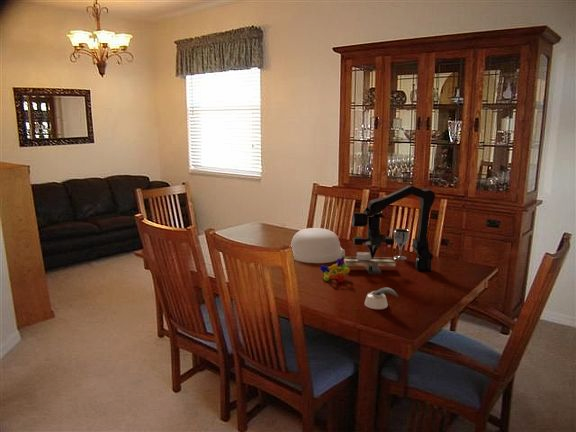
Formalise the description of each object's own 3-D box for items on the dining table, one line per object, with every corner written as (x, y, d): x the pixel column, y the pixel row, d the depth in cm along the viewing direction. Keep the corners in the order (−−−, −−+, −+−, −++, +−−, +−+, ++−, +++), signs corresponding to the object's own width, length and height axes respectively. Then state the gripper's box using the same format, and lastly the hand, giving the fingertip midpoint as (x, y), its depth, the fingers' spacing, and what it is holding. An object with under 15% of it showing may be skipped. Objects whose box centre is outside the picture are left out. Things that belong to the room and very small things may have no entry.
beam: (392, 263, 226) (392, 257, 225) (395, 267, 219) (395, 261, 218) (343, 262, 226) (343, 256, 225) (345, 267, 219) (345, 261, 218)
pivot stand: (376, 266, 228) (377, 255, 227) (381, 273, 218) (381, 262, 216) (364, 266, 228) (365, 255, 227) (368, 273, 218) (369, 262, 216)
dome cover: (346, 248, 260) (346, 224, 257) (343, 265, 231) (344, 238, 228) (290, 246, 265) (290, 222, 262) (281, 261, 236) (281, 235, 233)
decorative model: (323, 277, 200) (317, 259, 213) (327, 293, 204) (321, 274, 218) (352, 270, 200) (344, 252, 213) (355, 286, 204) (347, 267, 217)
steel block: (368, 259, 224) (369, 252, 224) (370, 262, 220) (370, 255, 219) (356, 259, 224) (356, 252, 223) (357, 261, 220) (358, 254, 219)
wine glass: (391, 259, 240) (392, 231, 237) (393, 255, 248) (395, 228, 245) (406, 260, 238) (408, 232, 234) (408, 256, 245) (410, 229, 242)
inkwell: (377, 298, 188) (378, 275, 185) (408, 315, 172) (410, 290, 170) (359, 302, 183) (360, 279, 181) (389, 320, 168) (390, 294, 166)
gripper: (356, 230, 210) (355, 262, 214) (397, 230, 211) (395, 263, 214) (353, 224, 221) (352, 255, 225) (391, 225, 221) (390, 256, 225)
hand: (372, 257), depth 222 cm, fingers closed
